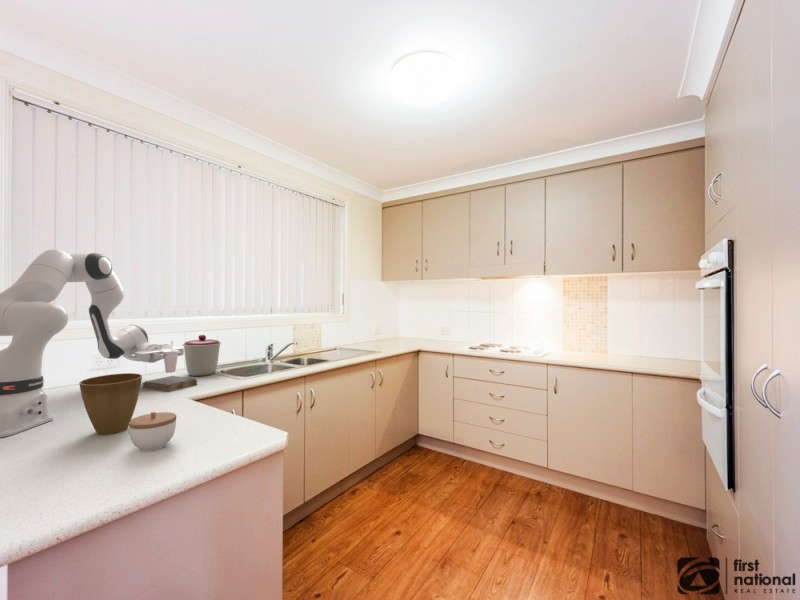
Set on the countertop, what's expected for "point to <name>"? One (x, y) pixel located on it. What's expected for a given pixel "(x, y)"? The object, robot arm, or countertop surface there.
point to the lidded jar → (152, 430)
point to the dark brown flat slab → (170, 383)
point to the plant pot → (111, 400)
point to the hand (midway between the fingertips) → (171, 354)
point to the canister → (201, 356)
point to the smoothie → (170, 359)
